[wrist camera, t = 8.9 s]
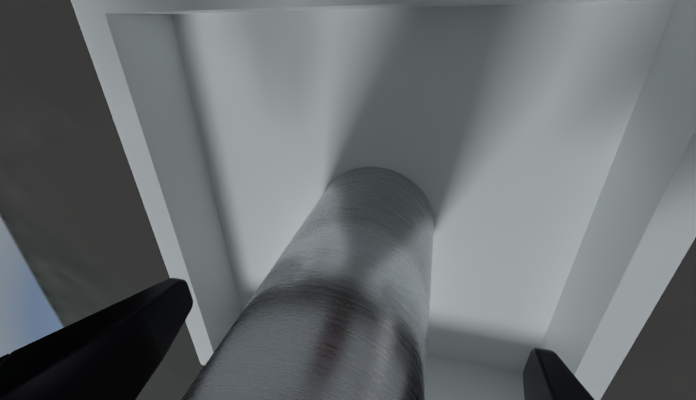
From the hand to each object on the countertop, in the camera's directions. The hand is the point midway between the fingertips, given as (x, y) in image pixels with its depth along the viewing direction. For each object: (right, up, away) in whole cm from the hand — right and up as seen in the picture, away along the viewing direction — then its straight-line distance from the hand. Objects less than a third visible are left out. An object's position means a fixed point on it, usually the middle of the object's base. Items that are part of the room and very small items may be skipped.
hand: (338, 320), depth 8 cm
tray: (+1, +3, +5) cm, 6 cm away
